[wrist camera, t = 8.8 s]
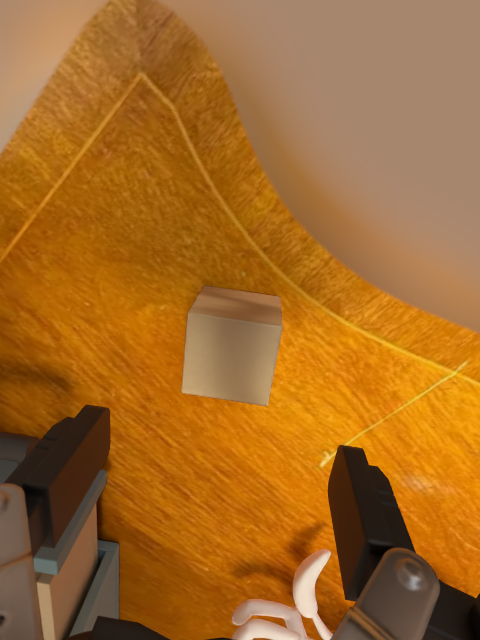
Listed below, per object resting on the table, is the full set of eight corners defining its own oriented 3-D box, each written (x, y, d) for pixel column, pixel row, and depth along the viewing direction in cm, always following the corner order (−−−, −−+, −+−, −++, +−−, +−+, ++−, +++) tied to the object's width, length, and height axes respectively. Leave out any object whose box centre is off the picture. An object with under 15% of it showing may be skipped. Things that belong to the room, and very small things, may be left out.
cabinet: (-16, 520, 31) (-114, 639, 23) (119, 543, 31) (66, 671, 23) (3, 618, 36) (-72, 743, 28) (119, 638, 36) (75, 770, 28)
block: (197, 353, 24) (180, 393, 19) (203, 284, 22) (187, 312, 18) (268, 364, 23) (267, 406, 19) (280, 296, 22) (282, 326, 17)
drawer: (-47, 374, 25) (-156, 444, 18) (106, 398, 24) (48, 477, 18) (-10, 561, 32) (-80, 657, 25) (108, 581, 32) (67, 683, 25)
